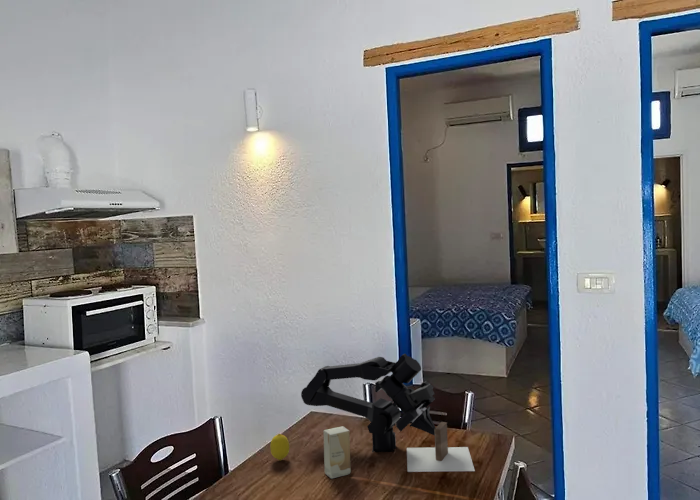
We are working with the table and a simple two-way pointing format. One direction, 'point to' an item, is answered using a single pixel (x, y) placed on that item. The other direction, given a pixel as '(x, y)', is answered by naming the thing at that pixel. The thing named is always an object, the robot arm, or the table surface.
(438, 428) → the tile
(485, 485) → the table surface
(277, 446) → the lemon
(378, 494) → the table surface
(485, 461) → the table surface
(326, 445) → the skincare box
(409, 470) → the mat
